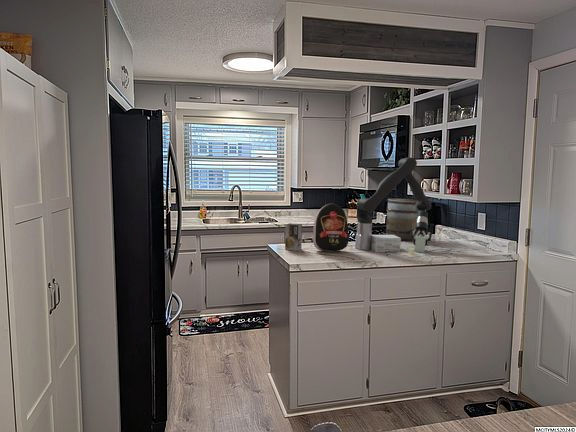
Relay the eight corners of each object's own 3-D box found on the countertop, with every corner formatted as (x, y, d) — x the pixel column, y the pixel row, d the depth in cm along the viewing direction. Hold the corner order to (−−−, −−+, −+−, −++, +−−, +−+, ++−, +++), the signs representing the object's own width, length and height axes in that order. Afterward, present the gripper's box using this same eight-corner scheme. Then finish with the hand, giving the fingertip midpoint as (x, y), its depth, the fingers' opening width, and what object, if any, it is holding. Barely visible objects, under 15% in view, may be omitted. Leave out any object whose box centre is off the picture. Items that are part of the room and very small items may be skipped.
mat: (418, 254, 270) (418, 253, 270) (406, 250, 281) (406, 249, 281) (433, 253, 274) (433, 252, 274) (421, 249, 285) (421, 248, 285)
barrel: (401, 235, 343) (404, 198, 340) (422, 240, 323) (425, 200, 320) (379, 236, 333) (382, 198, 330) (399, 241, 313) (402, 201, 310)
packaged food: (316, 254, 258) (318, 204, 255) (309, 247, 278) (311, 202, 274) (351, 254, 262) (353, 205, 258) (342, 248, 281) (344, 202, 278)
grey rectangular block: (424, 252, 272) (425, 236, 271) (414, 251, 274) (415, 235, 273) (424, 250, 281) (425, 234, 280) (415, 249, 283) (416, 233, 281)
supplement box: (392, 248, 288) (393, 234, 287) (400, 252, 275) (401, 237, 274) (368, 248, 285) (369, 234, 284) (375, 252, 272) (376, 237, 271)
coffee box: (301, 249, 272) (302, 224, 270) (297, 250, 266) (298, 225, 264) (288, 247, 276) (289, 222, 274) (284, 249, 270) (285, 224, 268)
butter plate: (409, 257, 258) (409, 251, 257) (397, 253, 269) (397, 247, 268) (425, 256, 262) (425, 250, 262) (412, 252, 273) (413, 246, 273)
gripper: (410, 220, 285) (408, 240, 275) (433, 221, 280) (432, 242, 270) (410, 227, 290) (408, 247, 280) (432, 228, 286) (431, 249, 276)
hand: (420, 244), depth 275 cm, fingers closed on grey rectangular block, 6 cm apart
